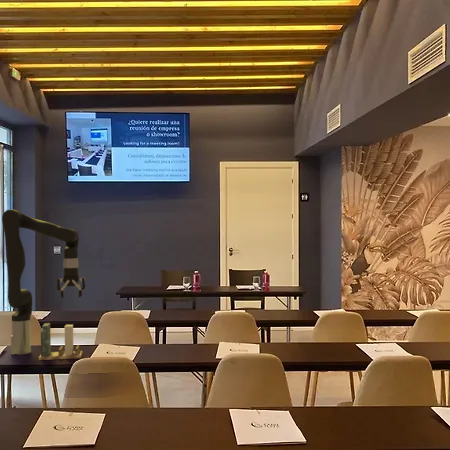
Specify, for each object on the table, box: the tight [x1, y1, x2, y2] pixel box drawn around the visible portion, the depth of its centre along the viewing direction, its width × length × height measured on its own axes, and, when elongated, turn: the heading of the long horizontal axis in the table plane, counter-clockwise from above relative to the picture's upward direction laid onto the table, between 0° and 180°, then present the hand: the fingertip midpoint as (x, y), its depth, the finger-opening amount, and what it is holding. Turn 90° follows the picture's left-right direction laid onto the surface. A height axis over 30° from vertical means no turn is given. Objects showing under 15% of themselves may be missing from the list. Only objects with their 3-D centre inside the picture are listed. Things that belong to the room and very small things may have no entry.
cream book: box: [64, 324, 74, 355], centre depth 282 cm, size 4×6×14 cm, turn 9°
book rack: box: [38, 322, 83, 361], centre depth 281 cm, size 20×10×16 cm, turn 99°
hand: (71, 297), depth 295 cm, fingers open, 8 cm apart
